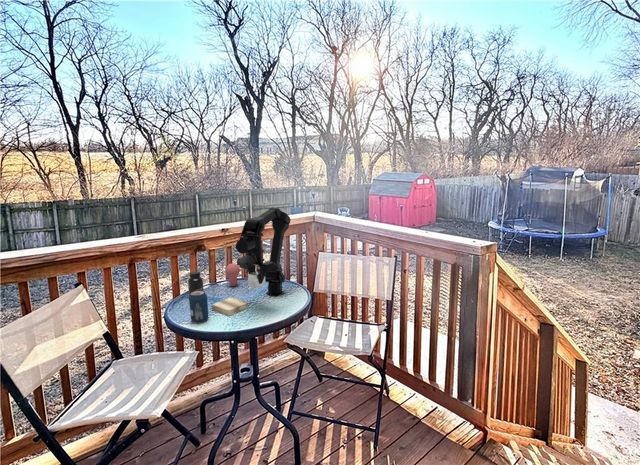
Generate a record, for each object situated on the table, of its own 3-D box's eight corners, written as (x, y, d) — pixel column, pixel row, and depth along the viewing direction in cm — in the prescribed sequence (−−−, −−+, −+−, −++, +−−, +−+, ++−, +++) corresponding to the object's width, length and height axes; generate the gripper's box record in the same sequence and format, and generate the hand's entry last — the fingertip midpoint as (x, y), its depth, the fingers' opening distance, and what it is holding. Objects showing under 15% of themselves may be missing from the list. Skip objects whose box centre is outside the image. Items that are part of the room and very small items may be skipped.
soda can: (203, 315, 159) (201, 288, 156) (212, 320, 154) (209, 292, 152) (187, 320, 154) (185, 292, 152) (196, 325, 149) (193, 297, 147)
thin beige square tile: (232, 302, 173) (232, 296, 172) (248, 307, 166) (248, 302, 166) (212, 309, 164) (212, 304, 164) (228, 316, 158) (228, 310, 157)
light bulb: (227, 289, 189) (226, 266, 187) (225, 284, 196) (223, 262, 193) (242, 287, 192) (240, 264, 189) (239, 282, 198) (237, 260, 196)
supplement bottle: (199, 299, 176) (197, 275, 174) (186, 298, 177) (184, 274, 175) (206, 294, 183) (204, 270, 180) (193, 293, 184) (191, 270, 182)
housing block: (258, 282, 169) (257, 270, 168) (265, 284, 167) (265, 271, 165) (248, 286, 165) (247, 273, 163) (255, 288, 162) (255, 275, 161)
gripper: (226, 248, 161) (228, 283, 164) (256, 255, 150) (258, 292, 153) (245, 243, 170) (247, 276, 173) (275, 249, 159) (277, 284, 162)
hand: (256, 282), depth 165 cm, fingers closed on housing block, 5 cm apart
